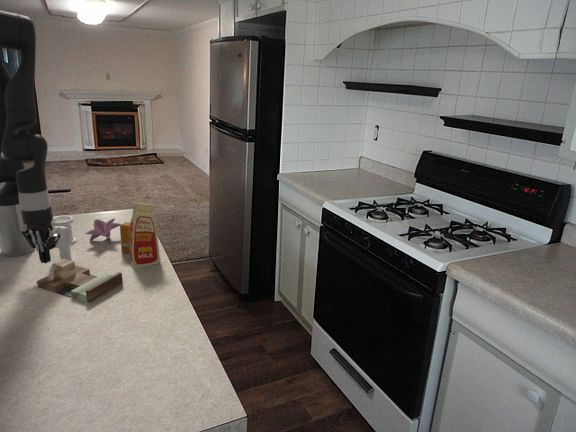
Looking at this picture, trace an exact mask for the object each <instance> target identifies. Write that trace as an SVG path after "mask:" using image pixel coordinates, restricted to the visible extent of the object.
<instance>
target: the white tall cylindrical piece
mask: <svg viewBox="0 0 576 432" xmlns="http://www.w3.org/2000/svg"><path fill="white" fill-rule="evenodd" d="M60 220H66V221H60ZM58 221H59V222H58ZM73 222H74V218H73V216H71V215H57V216H53V220H52V221H51V225H52V227H53V232H54V233H55V234H60V238H59V240H58V242H57V244H56V246H55V248H56V249H59V250H58V251H59V256H60V260H62V259H67V260H71V261H72V254H71V247H72V246H74V245H76V243H77V239H76V237H74V236H73V229H72V225H71V224H72V223H73ZM55 248H54V249H55Z"/></svg>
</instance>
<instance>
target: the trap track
mask: <svg viewBox="0 0 576 432" xmlns="http://www.w3.org/2000/svg"><path fill="white" fill-rule="evenodd" d="M90 269H91V268H86V267H82V266H79V265H75V270H76V274H75V275H73V276H71V277H69V278H67V279H65V280H64V279H60V278H57V277H54V273H53V272H52V273H50V274H49V275H47V276H45V277H42V278H41V279H39V280H36V286H37V288H39V289H41V290H45V291H49V292H51V293H55V294H59V295H62V296H65V297H68V298H72V299H75V300H79V301H82V302H85V303H88V304H89V303H92V302H95V301H96V300H97V299H100V298H101V297H102V296H103V297H104V296H105V295H106V294H108V293H109V292H112V291H113V290H115V289H116V288H118V287H119V286H122V285H123V284H124V282H123V272H120V271H118V272H116V273H115V274H109V273H102V274H100V275H93V274H91V271H90Z"/></svg>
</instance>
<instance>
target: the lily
mask: <svg viewBox="0 0 576 432" xmlns="http://www.w3.org/2000/svg"><path fill="white" fill-rule="evenodd" d="M115 220H116V218H115V217H114V218H112V219H109V220H107V221H103V220H101V219H94V220H93V229H91V230H89V231H87V232H85V233H84V234H85V235H90V238H89V242H92V241H94V240H95V239H97V238H99V237H101V236H102V237H105V238H106V239H107V243H108V245H109V246H111V243H110V240H109V238H111V231H112V230H113V229H116V228H118V227H120V225H121V224H122V223H119V222H115Z"/></svg>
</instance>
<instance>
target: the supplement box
mask: <svg viewBox="0 0 576 432" xmlns="http://www.w3.org/2000/svg"><path fill="white" fill-rule="evenodd" d="M130 223H131V222H129V221H125V222H123V223H120V224H121V225H120V226H119V233H120V247H121V249H120V250H121V253H124V254H131V253H130V246H129V234H130Z"/></svg>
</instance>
